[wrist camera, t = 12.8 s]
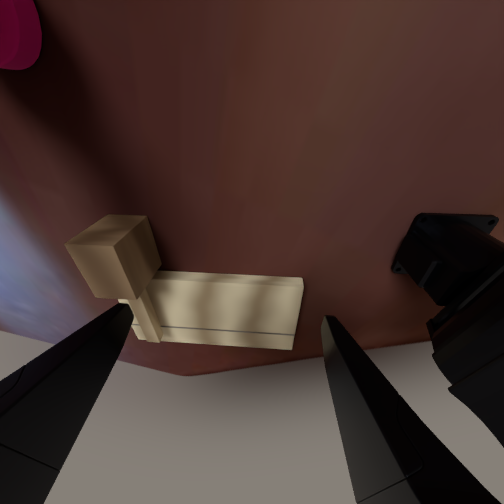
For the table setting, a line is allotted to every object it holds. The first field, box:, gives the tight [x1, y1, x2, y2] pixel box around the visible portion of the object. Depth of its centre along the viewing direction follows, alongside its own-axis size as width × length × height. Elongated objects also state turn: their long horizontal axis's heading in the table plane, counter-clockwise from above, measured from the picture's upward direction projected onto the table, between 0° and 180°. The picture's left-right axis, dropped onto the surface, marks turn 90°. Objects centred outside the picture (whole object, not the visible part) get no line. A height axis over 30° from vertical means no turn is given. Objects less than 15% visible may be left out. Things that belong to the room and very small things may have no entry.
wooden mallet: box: [64, 214, 163, 343], centre depth 23 cm, size 4×16×6 cm, turn 0°
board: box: [118, 271, 304, 350], centre depth 27 cm, size 22×12×2 cm, turn 90°
